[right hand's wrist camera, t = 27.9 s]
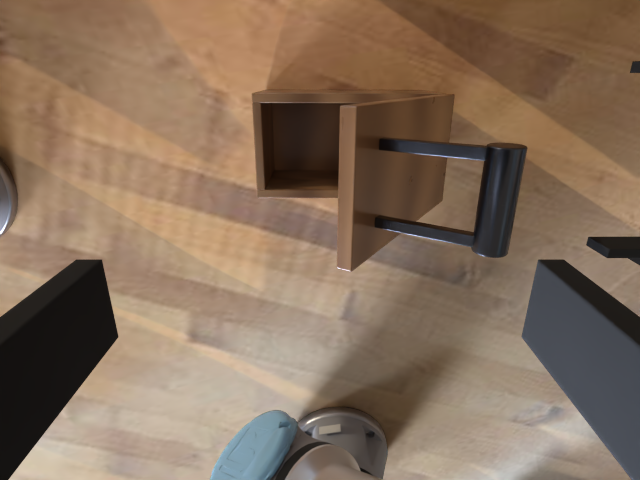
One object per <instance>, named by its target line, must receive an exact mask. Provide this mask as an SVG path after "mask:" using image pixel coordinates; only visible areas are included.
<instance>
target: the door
mask: <svg viewBox="0 0 640 480" xmlns="http://www.w3.org/2000/svg"><path fill="white" fill-rule="evenodd" d="M453 104H454V94H439V95H430V96H421V97H412V98H404V99H395V100H386V101H377V102H368V103H359V104H350V105H342V106H340V135H339V187H338V238H337V268H339V269H343V270H346V271H350V272H351V271H353V270H354V269H356V268H357V267H358V266H359V265H361V264H362V263H363V262H365V261H366V260H367V259H368V258H370V257H371V256H372V255H374V254H375V253H376V252H377V251H379V250H380V249H381V248H382V247H384V246H385V245H386V244H388V243H389V242H390V241H391V240H393V239H394V238H395V237H397V236H398V235H399V234H400V233H405V234H409V235H414V236H419V237H424V238H429V239H434V240H439V241H444V242H449V243H454V244H459V245H464V246H469V247H471V248H472V251H473V252H475V253H476V254H479V255H481V256H485V257H492V258H500V257H504V256H506V255H507V254H508V250H509V244H510V239H511V234H512V228H513V223H514V217H515V212H516V207H517V201H518V196H519V190H520V185H521V180H522V174H523V169H524V164H525V158H526V153H527V146H524V145H520V144H513V143H490V144H487V146H483V145H471V144H459V143H449V138H450V130H451V121H452V112H453ZM447 157H452V158H462V159H472V160H482V161H484V167H483V173H482V180H481V187H480V193H479V200H478V207H477V213H476V220H475V227H474V232H469V231H464V230H458V229H453V228H447V227H442V226H437V225H431V224H426V223H420V222H416V221H417V220H418V219H420V218H421V217H422V216H423V215H425V214H426V213H427V212H429V211H430V210H431V209H432V208H434V207H435V206H436V205H437V204H439V203H440V202H441V201H442V199H443V190H444V181H445V173H446V164H447Z"/></svg>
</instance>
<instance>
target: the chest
mask: <svg viewBox="0 0 640 480" xmlns="http://www.w3.org/2000/svg"><path fill="white" fill-rule="evenodd" d="M439 94H444V93H437V92H430V91H423V90H263V91H259V92H255V93H252V109H253V128H254V146H255V164H256V182H257V198H338V187H339V135H340V106H342V105H350V104H359V103H368V102H377V101H386V100H395V99H404V98H412V97H421V96H430V95H439Z"/></svg>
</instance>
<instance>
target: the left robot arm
mask: <svg viewBox="0 0 640 480" xmlns="http://www.w3.org/2000/svg"><path fill="white" fill-rule="evenodd" d="M630 73H640V61H634V62H633V63H632V67H631V71H630ZM587 246H589V247H590V248H592V249H593V250H595V251H597V252H598V253H600V254H602V255H603V256H605V257H606V258H628V259H630V260H632V261H633V262H635V263H637V264H639V265H640V237H588V241H587ZM387 451H388V450H387V443H386V438H385V434H384V431H383V429H382V427H381V426H380V425H379V423H378V422H377V421H376V420H375V419H374V418H372V417H371V416H370V415H368V414H366V413H364V412H362V411H359V410H356V409H353V408H347V407H330V408H324V409H321V410H318V411H315V412H313V413H311V414H309V415H307V416H306V417H304V418H303V419H302V420H301V421H300V422H299V423H297V422H296V420H295V419H294V418H291V417H290V416H289V415H288V414H287V413H285V412H283V411H280V410H273V411H269V412H266V413H264V414H261V415H260V416H258V417H256V418H255V419H253V420H252V421H251V422H250V423H248V424H247V425H246V426H244V427H243V428H242V429H241V430H240V431H239V432H238V433H237V434H236V435H235V437H234V438H233V439H232V440H231V441H230V443H229V444H228V445H227V447H226V448H225V449H224V451H223V452H222V454H221V456H220V457H219V459H218V461H217V463H216V465H215V467H214V469H213V471H212V476H211V478H210V480H383V474H384V469H385V464H386V459H387Z"/></svg>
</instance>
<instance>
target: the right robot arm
mask: <svg viewBox="0 0 640 480" xmlns="http://www.w3.org/2000/svg"><path fill="white" fill-rule="evenodd" d="M17 206H18V198H17V191H16V186H15V183H14V180H13V178H12V175H11V173H10V172H9V170H8V168H7V166H6V165H5V163H4V162H3V160H2V159H1V158H0V236H2V235H3V234H4V233H5V232H6V231H7V230H8V229H9V228H10V226H11V225H12V223H13V221H14V219H15V216H16V213H17ZM117 338H118V333H117V328H116V324H115V319H114V314H113V310H112V305H111V300H110V296H109V291H108V286H107V282H106V277H105V272H104V268H103V263H102V260H75V261H74V262H73V263H71V264H70V265H69V266H67V267H66V268H65V269H63V270H62V271H61V272H59V273H58V274H57V275H55V276H54V277H53V278H51V279H50V280H49V281H48V282H46V283H45V284H44V285H42V286H41V287H40V288H38V289H37V290H36V291H34V292H33V293H32V294H30V295H29V296H28V297H26V298H25V299H24V300H22V301H21V302H20V303H18V304H17V305H16V306H14V307H13V308H12V309H10V310H9V311H8V312H7V313H5V314H4V315H3V316H1V317H0V480H8V479H9V478H10V477H11V475H12V474H13V473H14V472H15V470H16V469H17V468H18V466H19V465H20V464H21V462H22V461H23V460H24V459H25V457H26V456H27V455H28V453H29V452H30V451H31V450H32V448H33V447H34V446H35V444H36V443H37V442H38V440H39V439H40V438H41V437H42V435H43V434H44V433H45V431H46V430H47V429H48V427H49V426H50V425H51V424H52V422H53V421H54V420H55V418H56V417H57V416H58V415H59V413H60V412H61V411H62V409H63V408H64V407H65V405H66V404H67V403H68V402H69V400H70V399H71V398H72V396H73V395H74V394H75V392H76V391H77V390H78V389H79V387H80V386H81V385H82V383H83V382H84V381H85V380H86V378H87V377H88V376H89V374H90V373H91V372H92V370H93V369H94V368H95V367H96V365H97V364H98V363H99V361H100V360H101V359H102V357H103V356H104V355H105V354H106V352H107V351H108V350H109V348H110V347H111V346H112V345H113V343H114V342H115V341H116V339H117ZM522 338H523V339H524V341H525V342H526V343H527V345H528V346H529V347H530V348H531V350H532V351H533V352H534V354H535V355H536V356H537V357H538V359H539V360H540V361H541V363H542V364H543V365H544V367H545V368H546V369H547V370H548V372H549V373H550V374H551V376H552V377H553V378H554V380H555V381H556V382H557V383H558V385H559V386H560V387H561V389H562V390H563V391H564V392H565V394H566V395H567V396H568V398H569V399H570V400H571V402H572V403H573V404H574V405H575V407H576V408H577V409H578V411H579V412H580V413H581V415H582V416H583V417H584V418H585V420H586V421H587V422H588V424H589V425H590V426H591V427H592V429H593V430H594V431H595V433H596V434H597V435H598V437H599V438H600V439H601V440H602V442H603V443H604V444H605V446H606V447H607V448H608V450H609V451H610V452H611V453H612V455H613V456H614V457H615V459H616V460H617V461H618V462H619V464H620V465H621V466H622V468H623V469H624V470H625V472H626V473H627V474H628V475H629V477H630V478H631V479H632V480H640V317H639V316H637V315H636V314H635V313H633V312H632V311H631V310H630V309H628V308H627V307H626V306H624V305H623V304H622V303H620V302H619V301H618V300H616V299H615V298H614V297H612V296H611V295H610V294H608V293H607V292H606V291H604V290H603V289H602V288H600V287H599V286H598V285H596V284H595V283H594V282H592V281H591V280H590V279H589V278H587V277H586V276H585V275H583V274H582V273H581V272H579V271H578V270H577V269H575V268H574V267H573V266H571V265H570V264H569V263H567V262H566V261H565V260H538V263H537V268H536V272H535V277H534V282H533V286H532V291H531V296H530V300H529V305H528V310H527V314H526V319H525V324H524V328H523V333H522Z"/></svg>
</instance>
